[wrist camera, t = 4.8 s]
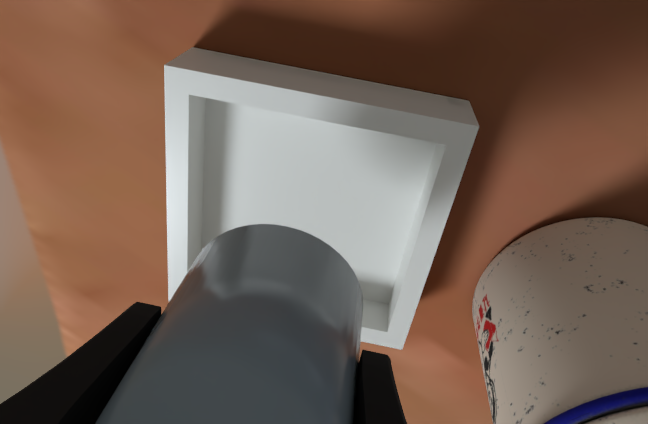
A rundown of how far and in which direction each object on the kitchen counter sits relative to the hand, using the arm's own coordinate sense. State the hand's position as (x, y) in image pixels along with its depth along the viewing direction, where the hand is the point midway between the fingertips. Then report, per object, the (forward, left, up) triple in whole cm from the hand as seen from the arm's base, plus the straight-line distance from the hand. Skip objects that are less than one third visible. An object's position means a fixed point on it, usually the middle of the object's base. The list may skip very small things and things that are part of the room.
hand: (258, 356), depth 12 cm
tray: (0, 0, -9) cm, 9 cm away
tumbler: (0, 0, -2) cm, 2 cm away
